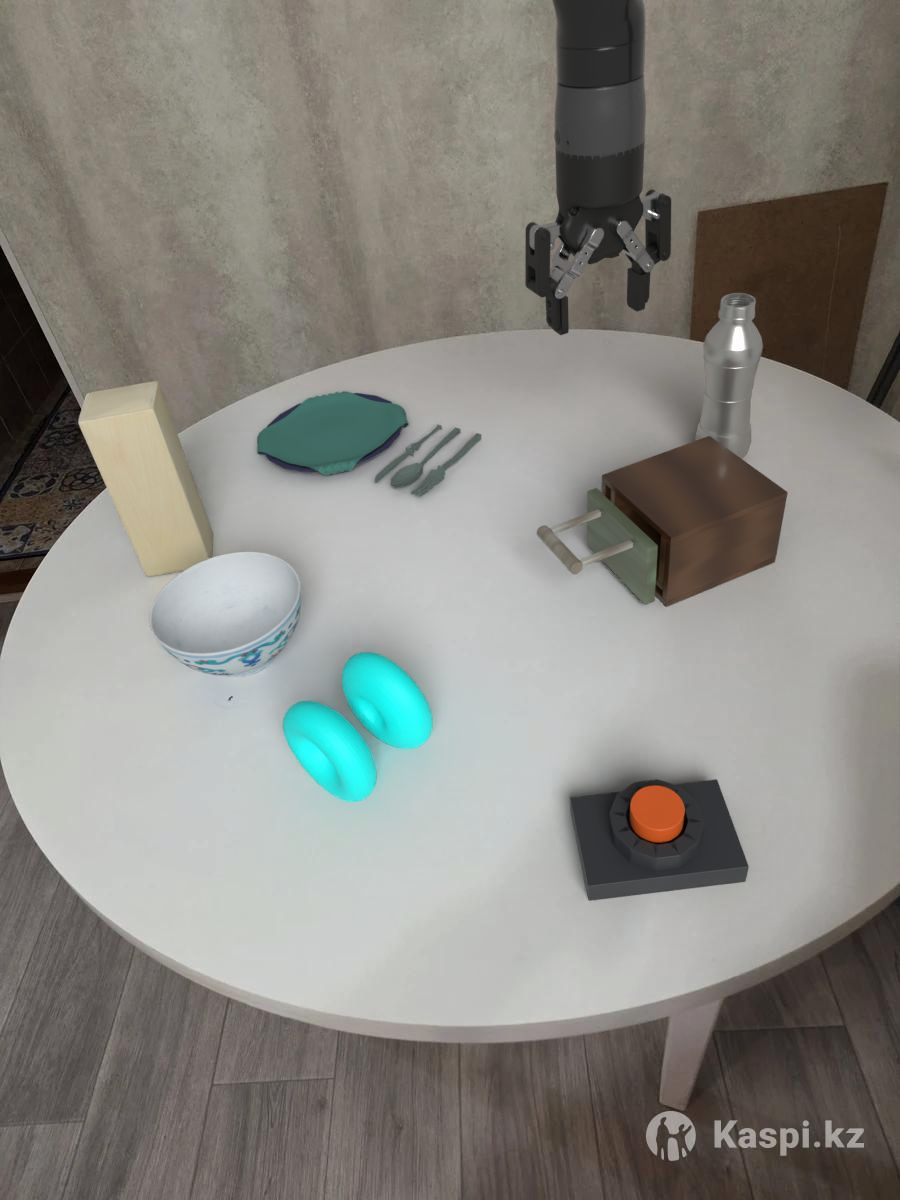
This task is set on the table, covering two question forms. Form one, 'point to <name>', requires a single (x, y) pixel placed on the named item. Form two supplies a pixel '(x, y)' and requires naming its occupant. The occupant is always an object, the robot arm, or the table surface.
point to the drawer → (615, 544)
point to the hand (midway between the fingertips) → (598, 319)
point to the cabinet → (703, 514)
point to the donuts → (379, 705)
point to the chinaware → (228, 613)
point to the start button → (657, 814)
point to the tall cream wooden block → (147, 476)
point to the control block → (656, 844)
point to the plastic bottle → (730, 374)
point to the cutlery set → (349, 438)
